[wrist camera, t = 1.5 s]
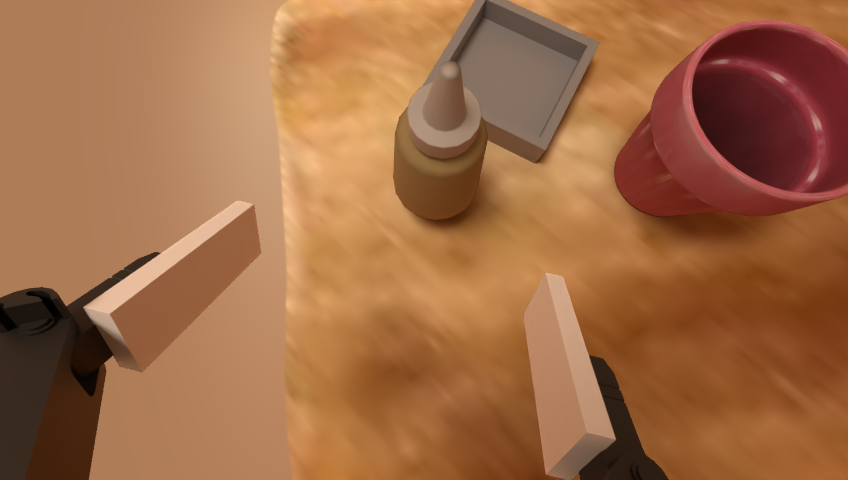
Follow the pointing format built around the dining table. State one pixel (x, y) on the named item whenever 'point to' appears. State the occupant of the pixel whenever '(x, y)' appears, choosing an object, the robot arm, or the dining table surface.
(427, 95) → the squeeze bottle
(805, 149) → the plant pot
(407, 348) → the dining table surface
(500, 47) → the tray
